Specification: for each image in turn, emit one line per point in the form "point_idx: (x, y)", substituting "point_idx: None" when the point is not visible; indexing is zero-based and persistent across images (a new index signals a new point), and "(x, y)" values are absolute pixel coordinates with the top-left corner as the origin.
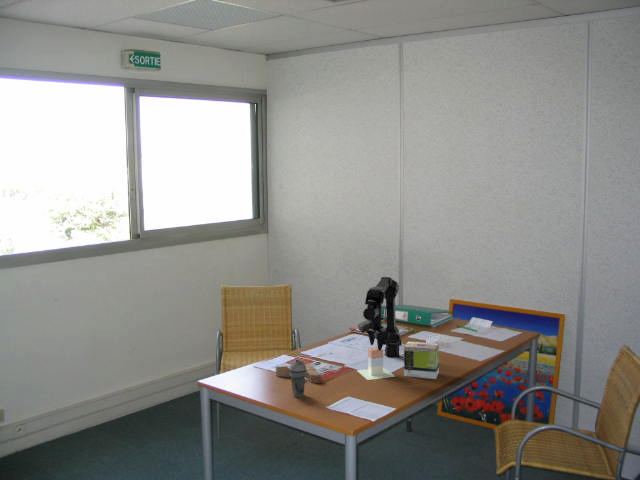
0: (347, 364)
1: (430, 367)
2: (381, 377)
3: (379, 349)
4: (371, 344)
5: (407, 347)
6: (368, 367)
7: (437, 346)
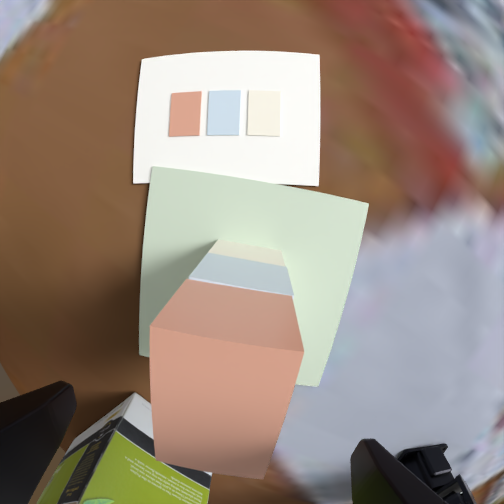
0: (485, 229)
1: (61, 464)
2: (152, 276)
3: (54, 395)
4: (361, 447)
5: None
6: (278, 260)
7: None
